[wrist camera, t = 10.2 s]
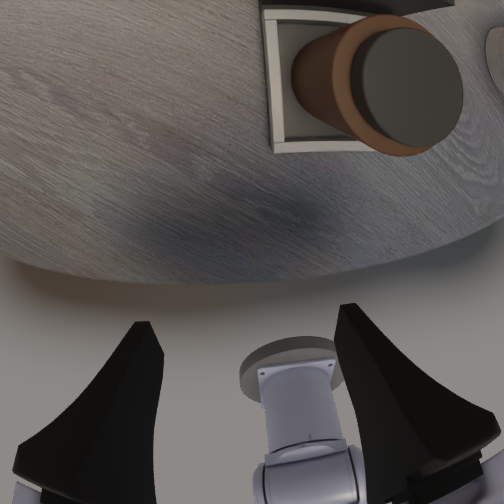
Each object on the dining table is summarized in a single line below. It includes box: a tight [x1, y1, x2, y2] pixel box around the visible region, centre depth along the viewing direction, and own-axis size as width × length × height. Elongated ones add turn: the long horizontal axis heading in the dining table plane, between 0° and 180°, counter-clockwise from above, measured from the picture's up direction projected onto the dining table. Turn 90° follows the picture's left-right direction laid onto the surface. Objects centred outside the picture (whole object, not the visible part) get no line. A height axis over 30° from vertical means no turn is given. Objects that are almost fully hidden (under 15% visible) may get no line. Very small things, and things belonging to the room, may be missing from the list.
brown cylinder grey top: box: [291, 14, 463, 156], centre depth 10 cm, size 5×5×8 cm
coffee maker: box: [259, 0, 455, 154], centre depth 10 cm, size 11×8×6 cm
